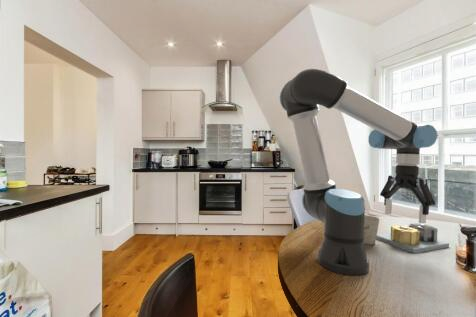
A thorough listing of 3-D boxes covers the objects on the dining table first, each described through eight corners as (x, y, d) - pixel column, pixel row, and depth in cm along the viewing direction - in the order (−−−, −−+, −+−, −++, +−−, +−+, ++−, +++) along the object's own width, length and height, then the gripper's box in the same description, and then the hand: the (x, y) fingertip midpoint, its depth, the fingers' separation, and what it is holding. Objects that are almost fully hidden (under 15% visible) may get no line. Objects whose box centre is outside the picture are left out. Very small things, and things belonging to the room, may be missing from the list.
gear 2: (427, 243, 93) (427, 228, 93) (403, 235, 102) (403, 222, 102) (442, 241, 96) (443, 226, 96) (418, 233, 105) (418, 220, 105)
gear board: (413, 253, 87) (414, 234, 87) (375, 238, 102) (375, 222, 102) (448, 247, 94) (449, 229, 94) (407, 234, 109) (408, 218, 109)
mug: (381, 246, 93) (382, 221, 93) (347, 243, 96) (348, 218, 95) (374, 239, 101) (374, 215, 101) (342, 236, 104) (343, 213, 104)
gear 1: (408, 246, 90) (408, 233, 90) (385, 238, 98) (386, 226, 98) (424, 243, 93) (424, 231, 93) (401, 236, 102) (401, 224, 101)
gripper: (449, 167, 85) (446, 226, 85) (385, 163, 108) (382, 210, 108) (436, 166, 82) (432, 228, 82) (372, 163, 106) (370, 211, 106)
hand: (404, 218), depth 95 cm, fingers open, 13 cm apart
